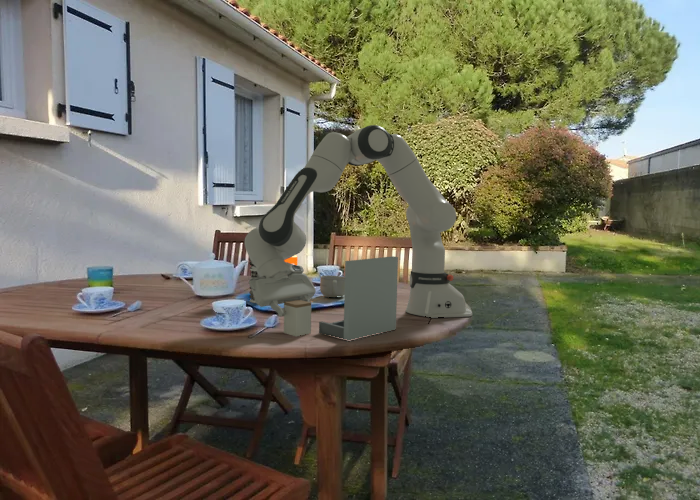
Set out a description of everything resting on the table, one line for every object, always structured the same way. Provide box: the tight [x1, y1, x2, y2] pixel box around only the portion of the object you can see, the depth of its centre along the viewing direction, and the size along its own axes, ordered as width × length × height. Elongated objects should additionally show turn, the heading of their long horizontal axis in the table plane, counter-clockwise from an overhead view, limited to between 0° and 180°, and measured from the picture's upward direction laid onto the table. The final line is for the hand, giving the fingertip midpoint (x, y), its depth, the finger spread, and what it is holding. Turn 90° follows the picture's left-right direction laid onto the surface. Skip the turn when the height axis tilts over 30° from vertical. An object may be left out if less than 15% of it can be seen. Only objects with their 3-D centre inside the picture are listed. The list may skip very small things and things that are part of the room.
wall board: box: [318, 255, 399, 340], centre depth 163 cm, size 20×12×22 cm, turn 136°
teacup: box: [319, 274, 345, 298], centre depth 217 cm, size 14×11×8 cm
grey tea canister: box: [283, 300, 312, 337], centre depth 161 cm, size 6×6×9 cm
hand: (296, 312), depth 161 cm, fingers open, 8 cm apart
